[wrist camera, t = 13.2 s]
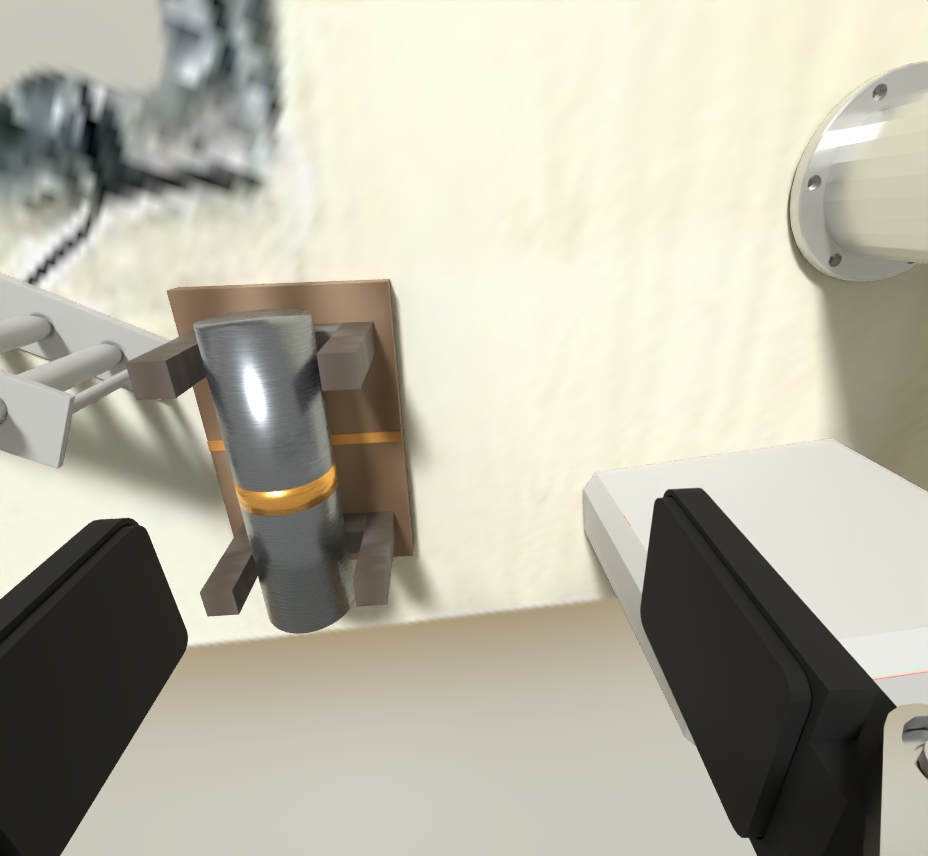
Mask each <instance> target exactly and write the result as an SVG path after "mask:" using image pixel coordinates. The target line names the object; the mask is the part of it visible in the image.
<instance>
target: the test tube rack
mask: <svg viewBox="0 0 928 856" xmlns="http://www.w3.org/2000/svg"><path fill="white" fill-rule="evenodd" d="M170 341H171V340H169V339H166V338H164V337H161V336H159V335H156V334H154V333H151V332H149V331H146V330H144V329H141V328H139V327H136V326H134V325H131V324H129V323H126V322H124V321H121V320H119V319H116V318H114V317H111V316H109V315H106V314H104V313H101V312H99V311H96V310H94V309H91V308H89V307H86V306H84V305H81V304H79V303H76V302H74V301H71V300H69V299H66V298H64V297H61V296H59V295H56V294H54V293H51V292H49V291H46V290H44V289H41V288H39V287H36V286H34V285H31V284H29V283H26V282H24V281H21V280H19V279H16V278H14V277H11V276H9V275H6V274H4V273H1V272H0V354H1V353H4V352H8V351H11V350H14V349H17V348H19V349H22V350H25V351H27V352H30V353H33V354H35V355H38V356H41V357H43V358H46V359H49V360H52V362H49V363H46V364H44V365H41V366H38V367H36V368H33V369H31V370H28V371H25V372H23V373H20V374H17V375H16V374H13V373H10V372H7V371H5V370H2V369H0V422H1V421H3V420H5V419H6V420H5V421H3V422H2V423H0V450H2V451H5V452H8V453H11V454H14V455H17V456H21V457H24V458H27V459H30V460H33V461H36V462H39V463H42V464H45V465H48V466H51V467H55V468H59V467H61V466H62V465H63V461H64V455H65V450H66V444H67V439H68V433H69V428H70V423H71V417H72V414H73V413H75V412H77V411H79V410H80V409H82V408H84V407H86V406H88V405H90V404H91V403H93V402H95V401H97V400H99V399H101V398H102V397H104V396H106V395H108V394H110V393H111V392H113V391H115V390H117V389H119V388H121V387H124V388H127V389H130V390H132V391H134V389H133V386H132V383H131V380H130V377H129V374H128V371H127V368H126V365H125V362H127V361H130V360H132V359H134V358H136V357H138V356H140V355H142V354H144V353H146V352H149V351H151V350H153V349H155V348H157V347H159V346H161V345H163V344H165V343H168V342H170ZM93 377H97V378H100V379H103V380H104V381H102V382H100V383H98V384H96V385H94V386H92V387H90V388H88V389H86V390H84V391H82V392H80V393H78V394H76V395H71V394H68V393H66V392H64V391H66V390H68V389H70V388H72V387H74V386H76V385H79V384H81V383H83V382H85V381H87V380H89V379H91V378H93ZM157 400H159V401H161V400H163V399H157Z"/></svg>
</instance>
